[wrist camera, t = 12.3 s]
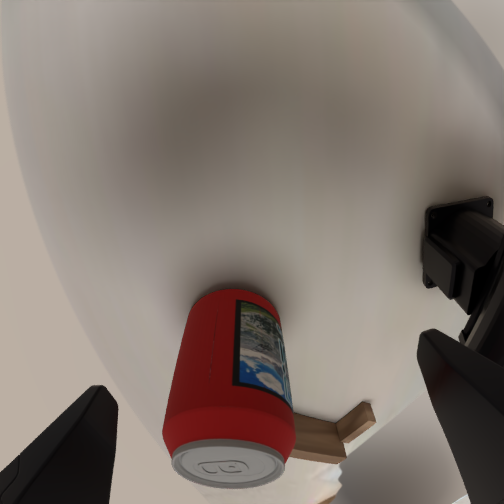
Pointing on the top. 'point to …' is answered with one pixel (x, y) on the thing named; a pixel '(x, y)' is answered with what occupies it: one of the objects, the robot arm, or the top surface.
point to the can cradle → (329, 435)
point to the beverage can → (230, 394)
